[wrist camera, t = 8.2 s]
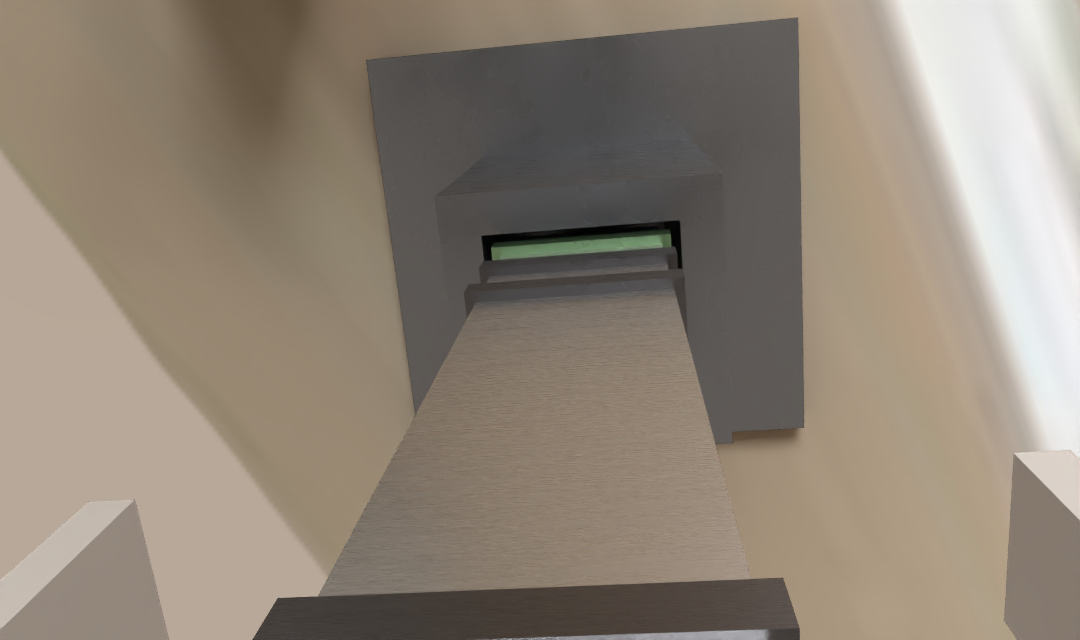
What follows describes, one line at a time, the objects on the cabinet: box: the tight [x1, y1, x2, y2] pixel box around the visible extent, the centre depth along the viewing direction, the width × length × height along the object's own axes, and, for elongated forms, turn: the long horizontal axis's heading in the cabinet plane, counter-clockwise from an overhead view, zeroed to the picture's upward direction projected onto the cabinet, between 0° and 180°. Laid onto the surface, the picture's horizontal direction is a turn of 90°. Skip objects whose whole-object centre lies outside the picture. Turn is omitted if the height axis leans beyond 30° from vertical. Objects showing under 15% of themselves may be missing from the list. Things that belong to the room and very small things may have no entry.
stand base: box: [366, 18, 804, 444], centre depth 31 cm, size 16×16×12 cm
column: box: [253, 226, 800, 640], centre depth 18 cm, size 5×5×22 cm
